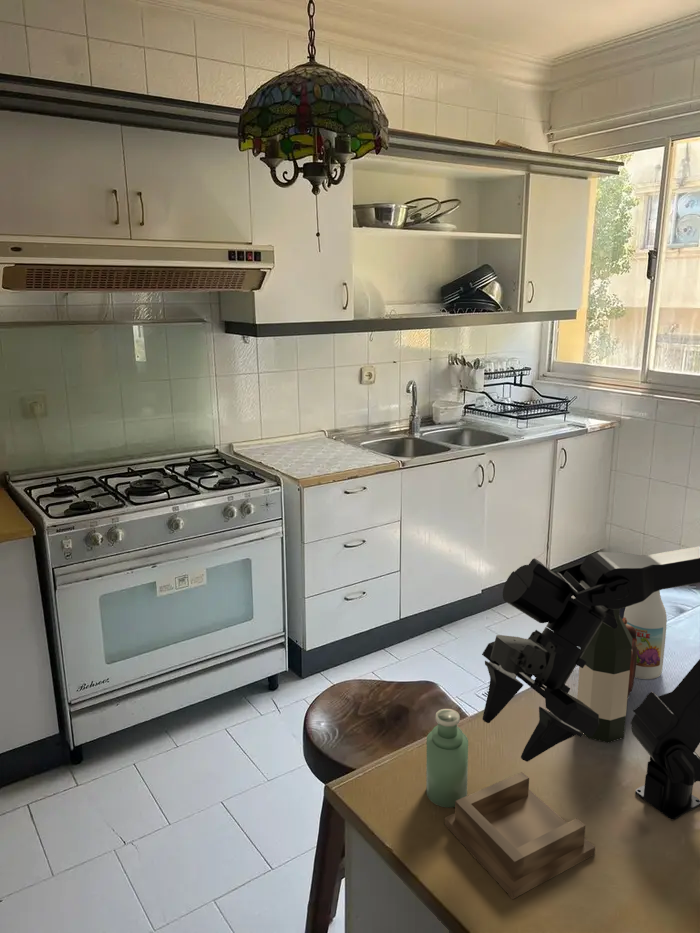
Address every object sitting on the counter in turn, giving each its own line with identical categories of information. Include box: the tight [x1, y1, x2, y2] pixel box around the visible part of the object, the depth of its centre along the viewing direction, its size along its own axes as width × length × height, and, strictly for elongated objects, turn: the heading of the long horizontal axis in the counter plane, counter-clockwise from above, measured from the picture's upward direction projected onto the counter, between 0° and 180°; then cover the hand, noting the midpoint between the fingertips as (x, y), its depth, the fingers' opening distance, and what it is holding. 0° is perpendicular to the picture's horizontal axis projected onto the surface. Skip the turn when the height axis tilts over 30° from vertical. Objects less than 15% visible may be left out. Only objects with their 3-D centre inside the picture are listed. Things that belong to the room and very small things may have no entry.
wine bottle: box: [576, 609, 633, 743], centre depth 113 cm, size 8×8×30 cm
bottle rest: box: [444, 771, 596, 900], centre depth 92 cm, size 14×14×4 cm
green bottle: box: [425, 708, 469, 808], centre depth 100 cm, size 6×6×13 cm
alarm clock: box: [622, 616, 637, 699], centre depth 123 cm, size 11×5×15 cm, turn 152°
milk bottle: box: [623, 590, 668, 680], centre depth 131 cm, size 8×8×20 cm
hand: (503, 739), depth 90 cm, fingers open, 9 cm apart
